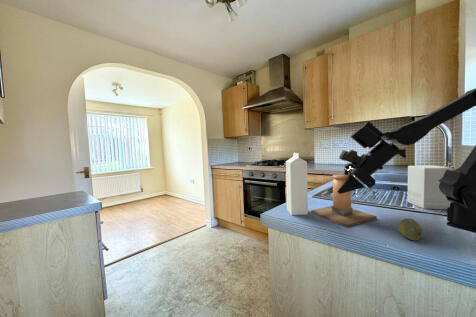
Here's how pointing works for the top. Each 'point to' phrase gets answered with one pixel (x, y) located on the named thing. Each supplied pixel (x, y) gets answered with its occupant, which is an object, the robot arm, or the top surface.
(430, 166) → the supplement box
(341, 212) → the thin square board
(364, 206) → the top surface
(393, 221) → the top surface
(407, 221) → the lime
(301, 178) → the milk
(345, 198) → the container with domed lid
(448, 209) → the robot arm
